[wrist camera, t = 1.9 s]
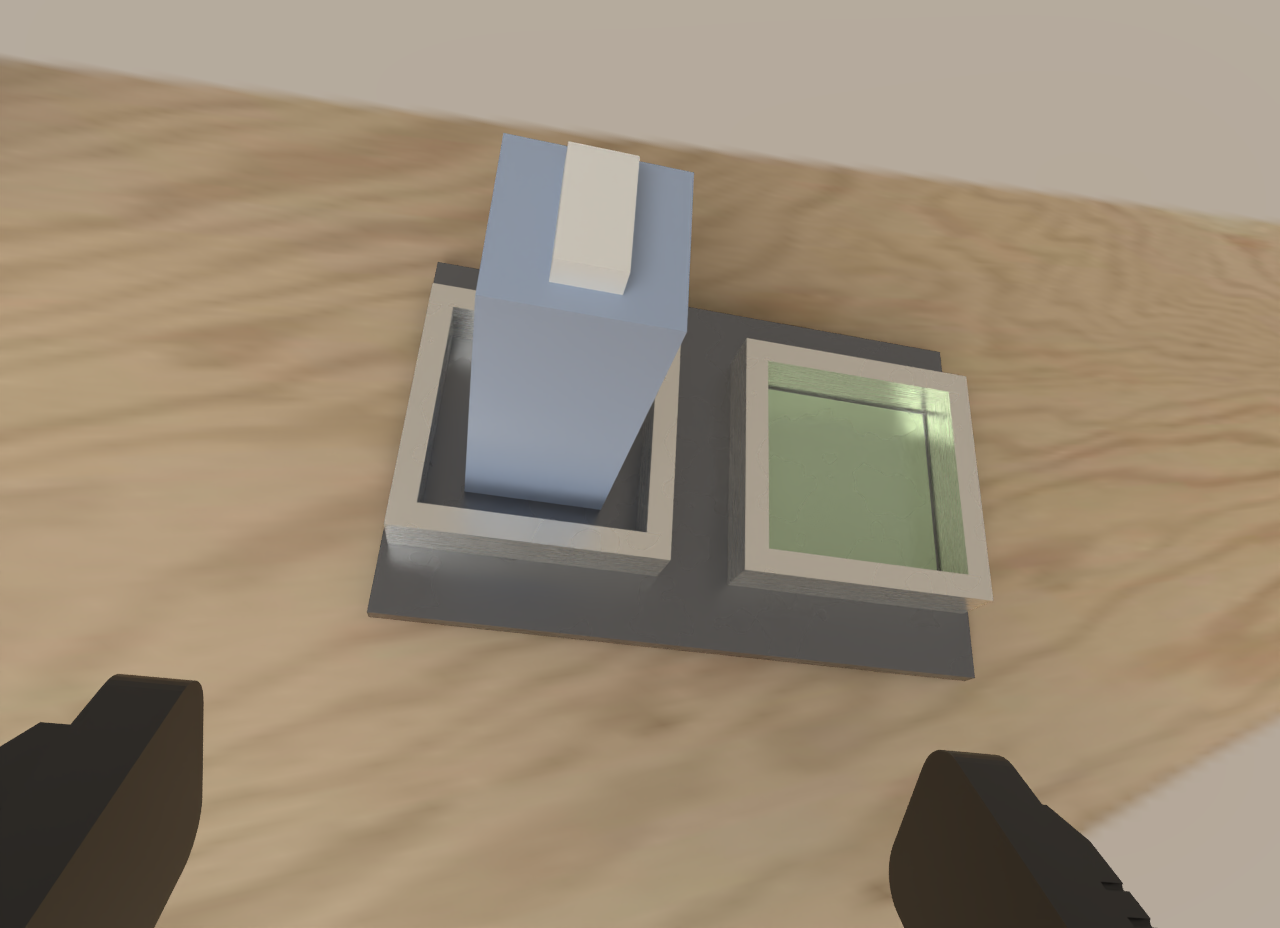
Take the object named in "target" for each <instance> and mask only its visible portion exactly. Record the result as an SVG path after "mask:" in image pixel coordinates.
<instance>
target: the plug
mask: <svg viewBox="0 0 1280 928" xmlns="http://www.w3.org/2000/svg"><path fill="white" fill-rule="evenodd" d="M639 159H640V156H637V155H632V154H627V153H623V152H618V151H613V150H608V149H604V148H599V147H594V146H589V145H584V144H580V143H575V142H570V141H568V146H564V145H559V144H554V143H549V142H545V141H540V140H535V139H530V138H525V137H521V136H516V135H511V134H506V133H504V134H503V139H502V145H501V151H500V157H499V162H498V168H497V174H496V179H495V185H494V191H493V197H492V202H491V208H490V214H489V219H488V225H487V231H486V237H485V242H484V248H483V254H482V259H481V265H480V271H479V277H478V282H477V288H476V294H475V309H474V327H473V345H472V363H471V381H470V399H469V418H468V436H467V454H466V472H465V490H464V491H465V492H472V493H480V494H487V495H495V496H502V497H509V498H517V499H524V500H532V501H539V502H547V503H554V504H561V505H569V506H576V507H584V508H591V509H598V510H601V508H602V506H603V504H604V502H605V500H606V498H607V496H608V494H609V492H610V490H611V488H612V485H613V483H614V481H615V479H616V477H617V475H618V473H619V471H620V469H621V467H622V465H623V463H624V461H625V459H626V457H627V455H628V452H629V450H630V448H631V446H632V444H633V442H634V440H635V438H636V436H637V434H638V432H639V430H640V428H641V426H642V424H643V422H644V419H645V417H646V415H647V413H648V411H649V409H650V407H651V405H652V403H653V401H654V399H655V397H656V395H657V393H658V391H659V389H660V386H661V384H662V382H663V380H664V378H665V376H666V374H667V372H668V370H669V368H670V366H671V364H672V362H673V360H674V358H675V356H676V353H677V351H678V349H679V347H680V345H681V343H682V341H683V339H684V337H685V335H686V333H687V319H688V296H689V273H690V251H691V228H692V205H693V182H694V173H693V172H688V171H684V170H679V169H674V168H669V167H664V166H660V165H655V164H650V163H645V162H640V161H639Z"/></svg>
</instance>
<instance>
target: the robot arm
mask: <svg viewBox="0 0 1280 928" xmlns="http://www.w3.org/2000/svg"><path fill="white" fill-rule="evenodd" d="M202 780H203V690H202V687H201V684H200V683H199V682H198V681H192V680H181V679H170V678H159V677H147V676H136V675H125V674H117V675H114V676H112V677H111V678H110V679H108V681H107V682H106V683H105V684H104V685H103V686H102V687H101V688H100V690H99V691H98V692H97V693H96V695H95V696H94V697H93V698H92V699H91V701H90V702H89V703H88V704H87V705H86V707H85V708H84V709H83V710H82V711H81V713H80V714H79V715H78V716H77V718H76V719H75V720H74V721H73V722H72V724H71V725H68V724H55V723H43V722H40V723H38V724H37V725H35V726H33V727H32V728H30V729H28V730H27V731H25V732H24V733H22V734H20V735H19V736H17V737H15V738H14V739H12V740H10V741H9V742H7V743H5V744H4V745H2V746H0V928H154V927H155V925H156V923H157V921H158V919H159V917H160V915H161V913H162V911H163V909H164V907H165V905H166V903H167V901H168V899H169V897H170V895H171V893H172V891H173V889H174V887H175V885H176V883H177V881H178V879H179V877H180V875H181V873H182V871H183V869H184V867H185V865H186V863H187V860H188V858H189V855H190V852H191V850H192V847H193V843H194V840H195V837H196V833H197V829H198V825H199V820H200V814H201V807H202ZM889 882H890V889H891V894H892V899H893V902H894V906H895V908H896V911H897V913H898V915H899V917H900V920H901V922H902V924H903V926H904V928H1152V926H1151V925H1150V918H1149V916H1148V915H1147V914H1146V912H1145V911H1144V910H1143V909H1142V907H1141V906H1140V905H1139V903H1138V902H1137V901H1136V900H1135V898H1134V897H1133V896H1132V895H1131V893H1130V892H1127V891H1124V890H1123V888H1122V884H1123V883H1122V882H1121V880H1120V879H1119V878H1118V877H1117V875H1116V874H1115V873H1114V871H1113V870H1112V869H1111V868H1110V866H1109V865H1108V864H1107V862H1106V861H1105V860H1104V859H1103V857H1102V856H1101V855H1100V854H1099V852H1098V851H1097V850H1096V848H1095V847H1094V846H1093V845H1092V843H1091V842H1090V841H1089V840H1088V839H1087V838H1085V837H1084V836H1083V835H1082V834H1081V833H1079V832H1078V831H1077V830H1076V829H1075V828H1073V827H1072V826H1071V825H1070V824H1069V823H1067V822H1066V821H1065V820H1064V819H1063V818H1061V817H1060V816H1059V815H1058V814H1057V813H1055V812H1054V811H1053V810H1052V809H1051V808H1049V807H1048V806H1047V805H1042V804H1041V802H1040V801H1039V800H1038V798H1037V797H1036V796H1035V794H1034V793H1033V792H1032V790H1031V789H1030V788H1029V787H1028V785H1027V784H1026V783H1025V781H1024V780H1023V779H1022V777H1021V776H1020V775H1019V773H1018V772H1017V771H1016V769H1015V768H1014V767H1013V765H1012V764H1011V763H1010V762H1009V761H1008V760H1006V759H1005V758H1004V757H1001V756H999V755H991V754H980V753H968V752H957V751H946V750H937V751H934V752H933V753H931V754H930V755H929V756H928V758H927V759H926V761H925V763H924V765H923V768H922V770H921V773H920V775H919V778H918V781H917V783H916V786H915V789H914V791H913V794H912V797H911V799H910V802H909V805H908V807H907V810H906V813H905V815H904V818H903V821H902V823H901V826H900V829H899V831H898V834H897V836H896V839H895V842H894V844H893V847H892V851H891V855H890V862H889Z"/></svg>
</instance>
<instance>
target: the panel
mask: <svg viewBox="0 0 1280 928" xmlns="http://www.w3.org/2000/svg"><path fill="white" fill-rule="evenodd" d="M479 271H480V269H474V268H469V267H463V266H458V265H452V264H446V263H441V262H438V264H437V269H436V274H435V278H434V283H433V284H432V289H431V294H430V299H429V304H428V309H427V314H426V319H425V323H424V328H423V333H422V338H421V343H420V348H419V353H418V358H417V363H416V368H415V373H414V378H413V383H412V388H411V393H410V397H409V402H408V407H407V412H406V417H405V422H404V427H403V432H402V437H401V442H400V447H399V452H398V457H397V462H396V466H395V471H394V476H393V481H392V486H391V491H390V496H389V501H388V506H387V511H386V516H385V521H384V531H383V536H382V540H381V545H380V550H379V555H378V560H377V565H376V570H375V575H374V580H373V585H372V590H371V595H370V600H369V605H368V610H367V614H368V616H369V617H375V618H384V619H393V620H403V621H412V622H421V623H431V624H440V625H449V626H459V627H468V628H477V629H486V630H496V631H505V632H514V633H524V634H533V635H542V636H552V637H561V638H570V639H579V640H589V641H598V642H607V643H617V644H626V645H635V646H645V647H654V648H663V649H672V650H682V651H691V652H700V653H710V654H719V655H728V656H738V657H747V658H756V659H766V660H775V661H784V662H793V663H803V664H812V665H821V666H831V667H840V668H849V669H859V670H868V671H877V672H886V673H896V674H905V675H914V676H924V677H933V678H942V679H952V680H961V681H966V680H970V679H973V678H975V675H974V666H973V657H972V647H971V638H970V629H969V620H968V611H970V610H973V609H975V608H978V607H980V606H982V605H985V604H987V603H990V602H992V601H993V594H992V586H991V578H990V570H989V561H988V553H987V545H986V537H985V528H984V520H983V512H982V504H981V495H980V487H979V479H978V471H977V462H976V454H975V446H974V438H973V429H972V421H971V413H970V405H969V397H968V388H967V380H966V376H961V375H955V374H949V373H943V372H942V368H941V359H940V352H936V351H930V350H925V349H919V348H913V347H908V346H902V345H897V344H891V343H886V342H880V341H874V340H869V339H863V338H858V337H852V336H847V335H841V334H836V333H830V332H824V331H819V330H813V329H808V328H802V327H797V326H791V325H786V324H780V323H774V322H769V321H763V320H758V319H752V318H747V317H741V316H735V315H730V314H724V313H719V312H713V311H708V310H702V309H697V308H691V307H688V319H687V333H686V335H685V337H684V339H683V341H682V343H681V345H680V347H679V349H678V351H677V353H676V356H675V358H674V360H673V362H672V364H671V366H670V368H669V370H668V372H667V374H666V376H665V378H664V380H663V382H662V384H661V386H660V389H659V391H658V393H657V395H656V397H655V399H654V401H653V403H652V405H651V407H650V409H649V411H648V413H647V415H646V417H645V419H644V422H643V424H642V426H641V428H640V430H639V432H638V434H637V436H636V438H635V440H634V442H633V444H632V446H631V448H630V450H629V452H628V455H627V457H626V459H625V461H624V463H623V465H622V467H621V469H620V471H619V473H618V475H617V477H616V479H615V481H614V483H613V485H612V488H611V490H610V492H609V494H608V496H607V498H606V500H605V502H604V504H603V506H602V508H601V510H598V509H591V508H584V507H576V506H569V505H561V504H554V503H547V502H539V501H532V500H524V499H517V498H509V497H502V496H495V495H487V494H480V493H472V492H465V491H464V490H465V472H466V454H467V436H468V418H469V399H470V381H471V363H472V345H473V327H474V309H475V294H476V288H477V282H478V277H479Z"/></svg>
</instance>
